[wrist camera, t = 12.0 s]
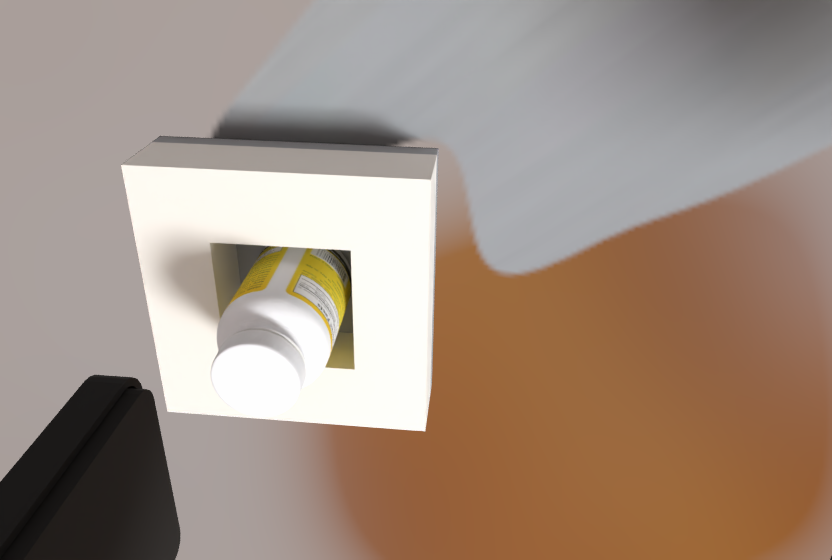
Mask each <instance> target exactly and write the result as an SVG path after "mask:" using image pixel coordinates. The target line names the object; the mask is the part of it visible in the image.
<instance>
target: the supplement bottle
mask: <svg viewBox="0 0 832 560" xmlns="http://www.w3.org/2000/svg"><path fill="white" fill-rule="evenodd" d="M351 291H352V274H351V268H350V266H349V264H348V261H347V260H346V258H345V256H344V255H343V254H342V253H341V251H340V250H333V249H315V248H298V247H280V246H266V247H265V248H264V249H263V251H262V252H261V254H260V255H259V257H258V258H257V260H256V261H255V263H254V264H253V266H252V268H251V270H250V271H249V273H248V274H247V276H246V278H245V279H244V281H243V282H242V284H241V286H240V287H239V289H238V290H237V292H236V294H235V295H234V297H233V298H232V300H231V301H230V303H229V305H228V306H227V308H226V309H225V311H224V313H223V315H222V317H221V319H220V321H219V324H218V328H217V346H218V350H219V351H218V353H217V355H216V357H215V359H214V361H213V363H212V366H211V381H212V385H213V387H214V389H215V391H216V393H217V394H218V396H219V397H220V398H221V399H222V400H223V401H224V402H225V403H226V404H227V405H228V406H230V407H231V408H233V409H235V410H236V411H239V412H241V413H243V414H246V415H250V416H255V417H271V416H275V415H279V414H281V413H283V412H285V411H287V410H288V409H289V408H290V407H292V406H293V404H294V403H295V402H296V400H297V398H298V396H299V394H300V391H301V389H302V388H304V387H306V386H307V385H309V384H311V383H312V382H313V381H314V380H316V379H317V378H318V377H319V375H320V374H321V373H322V371H323V370H324V368H325V366H326V364H327V362H328V360H329V357H330V354H331V351H332V348H333V345H334V343H335V340H336V337H337V334H338V331H339V328H340V325H341V322H342V319H343V316H344V313H345V311H346V308H347V305H348V302H349V299H350V296H351Z"/></svg>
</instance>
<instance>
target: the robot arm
mask: <svg viewBox="0 0 832 560" xmlns="http://www.w3.org/2000/svg"><path fill="white" fill-rule="evenodd" d="M179 544H180V527H179V522H178V517H177V512H176V507H175V502H174V497H173V492H172V487H171V482H170V477H169V472H168V467H167V461H166V456H165V452H164V447H163V441H162V437H161V431H160V426H159V422H158V416H157V411H156V406H155V401H154V397H153V394H152V392H151V391H150V390H147V389H142V386H141V383H140V382H139V381H138V379H136V378H132V377H118V376H104V375H93V376H90V377H89V378H88V379H87V380H85V381H84V383H83V384H82V385H81V386H80V387H79V389H78V390H77V391H76V392H75V393H74V395H73V396H72V397H71V398H70V399H69V401H68V402H67V403H66V404H65V406H64V407H63V408H62V409H61V410H60V411H59V413H58V414H57V415H56V416H55V417H54V419H53V420H52V421H51V422H50V423H49V424H48V426H47V427H46V428H45V429H44V430H43V432H42V433H41V434H40V436H39V437H38V438H37V439H36V440H35V441H34V443H33V444H32V445H31V446H30V447H29V449H28V450H27V451H26V452H25V453H24V454H23V456H22V457H21V458H20V459H19V461H18V462H17V463H16V464H15V465H14V466H13V468H12V469H11V470H10V471H9V472H8V474H7V475H6V476H5V477H4V478H3V479H2V481H1V482H0V560H175V558H176V556H177V553H178V549H179ZM830 560H832V556H831V559H830Z"/></svg>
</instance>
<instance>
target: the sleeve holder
mask: <svg viewBox="0 0 832 560" xmlns="http://www.w3.org/2000/svg"><path fill="white" fill-rule="evenodd" d="M121 168H122V173H123V178H124V184H125V189H126V194H127V200H128V205H129V210H130V215H131V221H132V225H133V231H134V236H135V242H136V247H137V252H138V258H139V263H140V268H141V274H142V279H143V284H144V289H145V294H146V300H147V305H148V310H149V316H150V321H151V326H152V332H153V337H154V342H155V347H156V353H157V357H158V363H159V368H160V373H161V379H162V384H163V390H164V395H165V400H166V406H167V411H168V412H180V413H194V414H206V415H219V416H232V417H246V418H259V419H273V420H286V421H298V422H311V423H325V424H337V425H351V426H363V427H376V428H389V429H390V428H391V429H403V430H416V431H425V428H426V421H427V414H428V406H429V399H430V392H431V384H432V356H433V321H434V286H435V251H436V250H435V249H436V215H437V180H438V148H419V147H396V146H374V145H351V144H328V143H306V142H283V141H261V140H238V139H215V138H193V137H168V136H159V137H158V138H157V139H155V140H154V141H153V142H152V143H150V144H149V145H147V146H146V147H145V148H143V149H142V150H140V151H139V152H138V153H136V154H135V155H134V156H132V157H131V158H130V159H129V160H127V161H126V162H124V163H123V164H122V165H121ZM266 246H280V247H298V248H315V249H333V250H340V251H341V253H342V254H343V255H344V256H345V258H346V260H347V261H348V264H349V266H350V268H351V274H352V291H351V296H350V299H349V302H348V305H347V308H346V311H345V313H344V316H343V319H342V322H341V325H340V328H339V331H338V334H337V337H336V340H335V343H334V345H333V348H332V351H331V354H330V357H329V360H328V362H327V364H326V366H325V368H324V370H323V371H322V373H321V374H320V375H319V377H318V378H317V379H316V380H314V381H313V382H312V383H311V384H309V385H307V386H306V387H304V388H302V389H301V391H300V394H299V396H298V398H297V400H296V402H295V403H294V404H293V406H292V407H290V408H289V409H288V410H287V411H285V412H283V413H281V414H279V415H275V416H271V417H255V416H250V415H246V414H243V413H241V412H239V411H236V410H235V409H233V408H231V407H230V406H228V405H227V404H226V403H225V402H224V401H223V400H222V399H221V398H220V397H219V396H218V394H217V393H216V391H215V389H214V387H213V385H212V381H211V366H212V363H213V361H214V359H215V357H216V355H217V353H218V351H219V350H218V346H217V328H218V324H219V321H220V319H221V317H222V315H223V313H224V311H225V309H226V308H227V306H228V305H229V303H230V301H231V300H232V298H233V297H234V295H235V294H236V292H237V290H238V289H239V287H240V286H241V284H242V282H243V281H244V279H245V278H246V276H247V274H248V273H249V271H250V270H251V268H252V266H253V264H254V263H255V261H256V260H257V258H258V257H259V255H260V254H261V252H262V251H263V249H264V248H265V247H266Z"/></svg>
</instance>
